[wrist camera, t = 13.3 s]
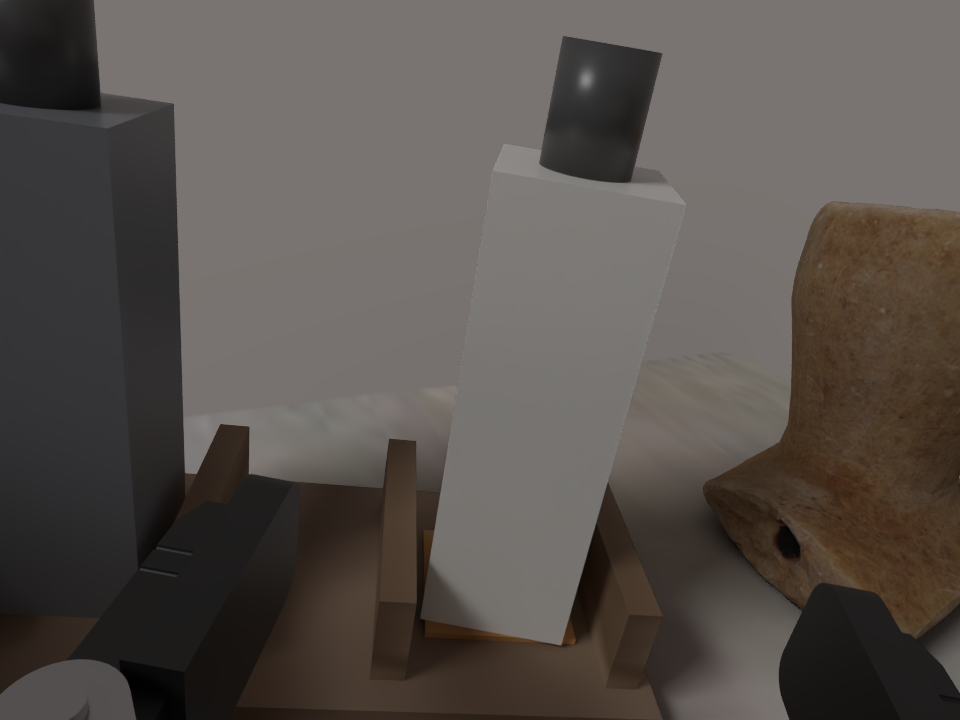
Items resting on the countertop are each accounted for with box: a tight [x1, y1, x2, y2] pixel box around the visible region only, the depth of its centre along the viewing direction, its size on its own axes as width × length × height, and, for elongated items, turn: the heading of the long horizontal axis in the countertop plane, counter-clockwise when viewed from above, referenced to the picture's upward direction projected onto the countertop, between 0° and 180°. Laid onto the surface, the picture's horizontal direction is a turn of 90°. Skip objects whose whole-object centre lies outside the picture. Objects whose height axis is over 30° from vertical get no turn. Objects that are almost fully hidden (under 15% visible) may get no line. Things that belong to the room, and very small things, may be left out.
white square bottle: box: [420, 36, 686, 645], centre depth 20 cm, size 4×4×17 cm
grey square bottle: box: [0, 0, 186, 618], centre depth 19 cm, size 4×4×17 cm
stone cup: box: [703, 201, 960, 640], centre depth 29 cm, size 15×12×15 cm
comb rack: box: [0, 424, 663, 720], centre depth 23 cm, size 22×10×4 cm, turn 95°
